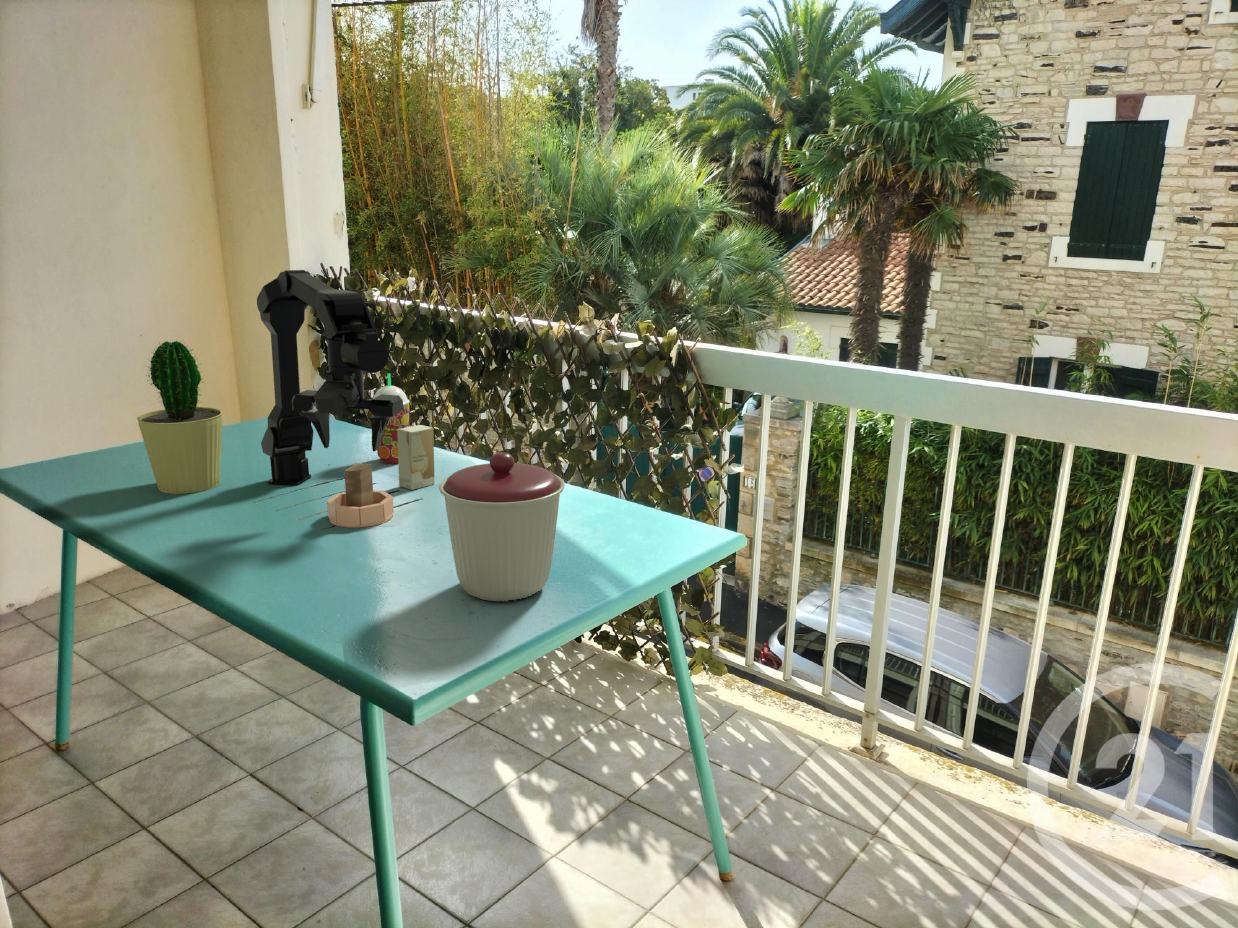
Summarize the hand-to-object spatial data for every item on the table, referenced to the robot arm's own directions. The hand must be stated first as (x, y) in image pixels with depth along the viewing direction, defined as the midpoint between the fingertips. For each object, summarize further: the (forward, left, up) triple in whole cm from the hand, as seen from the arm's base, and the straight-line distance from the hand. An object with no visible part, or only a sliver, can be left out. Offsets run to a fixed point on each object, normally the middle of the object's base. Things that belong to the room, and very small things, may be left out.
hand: (350, 449), depth 157 cm
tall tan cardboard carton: (+2, -1, -12) cm, 12 cm away
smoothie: (-7, +37, -13) cm, 40 cm away
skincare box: (+5, +20, -13) cm, 24 cm away
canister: (+36, -27, -13) cm, 47 cm away
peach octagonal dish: (+2, -1, -13) cm, 13 cm away
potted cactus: (-40, +11, -13) cm, 43 cm away
